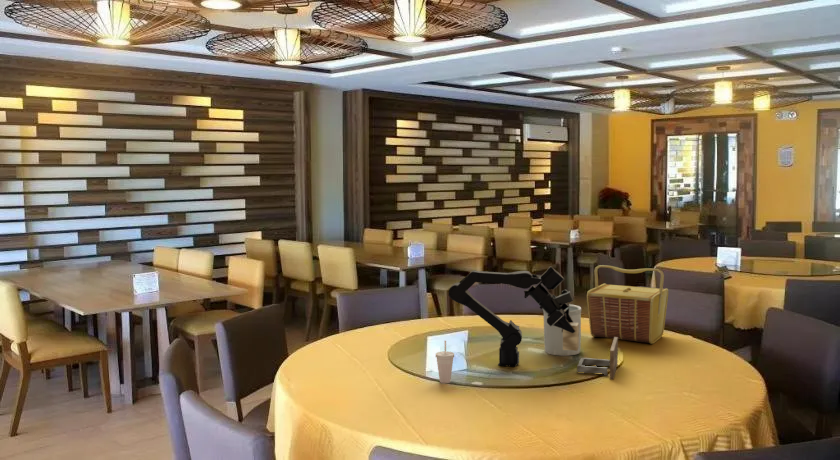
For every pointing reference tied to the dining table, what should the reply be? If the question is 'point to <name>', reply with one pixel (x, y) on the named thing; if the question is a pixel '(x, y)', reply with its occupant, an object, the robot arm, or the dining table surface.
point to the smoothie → (445, 365)
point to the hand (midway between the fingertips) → (574, 330)
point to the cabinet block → (571, 338)
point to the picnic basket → (627, 309)
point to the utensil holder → (560, 334)
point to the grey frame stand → (601, 362)
